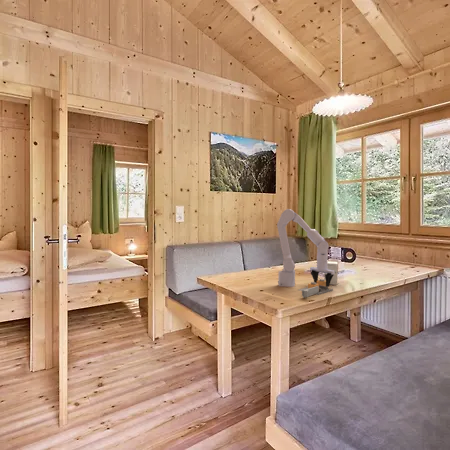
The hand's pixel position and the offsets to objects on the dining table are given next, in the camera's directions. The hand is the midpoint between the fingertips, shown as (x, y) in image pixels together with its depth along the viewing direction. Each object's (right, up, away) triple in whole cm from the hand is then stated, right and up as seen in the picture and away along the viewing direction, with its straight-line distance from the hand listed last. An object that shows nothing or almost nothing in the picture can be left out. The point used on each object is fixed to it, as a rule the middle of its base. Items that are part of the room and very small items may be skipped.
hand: (321, 285), depth 175 cm
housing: (-6, -2, -8) cm, 10 cm away
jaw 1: (-8, -1, -11) cm, 14 cm away
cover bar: (-11, -1, -20) cm, 23 cm away
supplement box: (+9, -1, +11) cm, 14 cm away
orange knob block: (0, -2, 0) cm, 2 cm away
